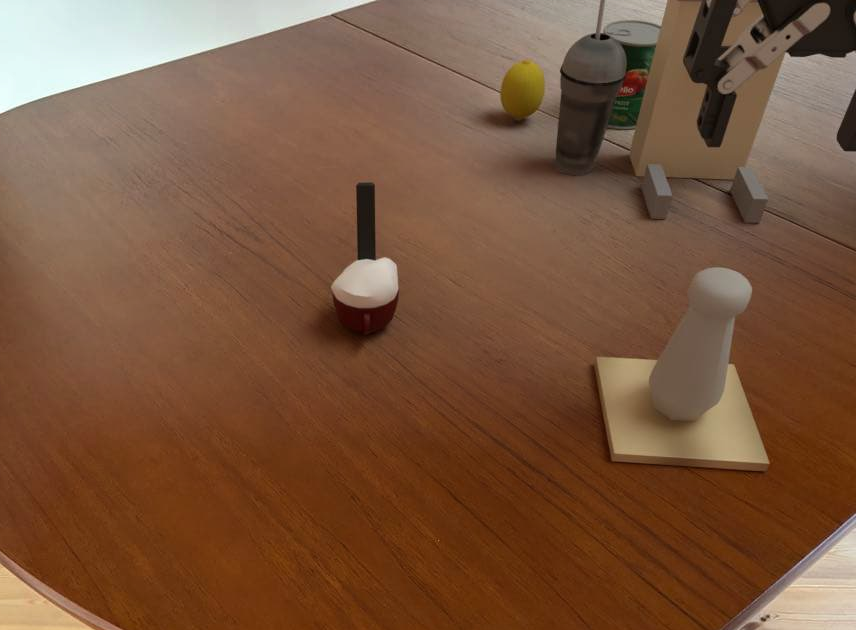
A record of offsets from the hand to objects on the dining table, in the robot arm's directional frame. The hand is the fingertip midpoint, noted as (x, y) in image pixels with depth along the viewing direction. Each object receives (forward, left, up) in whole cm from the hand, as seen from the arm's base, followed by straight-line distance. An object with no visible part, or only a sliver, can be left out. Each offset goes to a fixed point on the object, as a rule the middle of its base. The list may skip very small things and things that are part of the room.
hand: (778, 144), depth 56 cm
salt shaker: (0, 0, -24) cm, 24 cm away
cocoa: (+27, -11, -25) cm, 38 cm away
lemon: (+10, -55, -25) cm, 61 cm away
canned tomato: (-3, -57, -25) cm, 62 cm away
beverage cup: (+4, -43, -25) cm, 49 cm away
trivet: (0, 0, -25) cm, 25 cm away
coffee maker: (-9, -39, -24) cm, 47 cm away
